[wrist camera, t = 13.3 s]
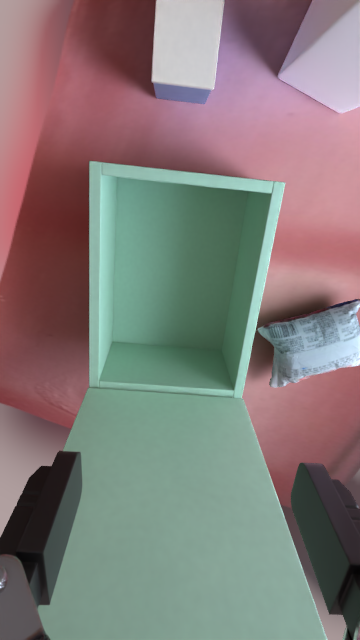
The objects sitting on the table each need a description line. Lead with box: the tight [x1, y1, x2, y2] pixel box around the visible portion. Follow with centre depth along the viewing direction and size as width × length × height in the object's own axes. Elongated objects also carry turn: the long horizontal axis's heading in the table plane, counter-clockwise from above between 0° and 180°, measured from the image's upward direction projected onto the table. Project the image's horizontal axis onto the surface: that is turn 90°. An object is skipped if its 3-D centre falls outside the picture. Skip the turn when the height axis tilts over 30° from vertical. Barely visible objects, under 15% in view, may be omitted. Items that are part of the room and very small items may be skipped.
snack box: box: [151, 0, 224, 104], centre depth 27 cm, size 5×10×6 cm, turn 174°
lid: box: [37, 388, 327, 640], centre depth 24 cm, size 21×15×5 cm
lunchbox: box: [89, 161, 285, 398], centre depth 34 cm, size 20×15×9 cm
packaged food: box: [257, 299, 360, 387], centre depth 39 cm, size 9×12×5 cm
